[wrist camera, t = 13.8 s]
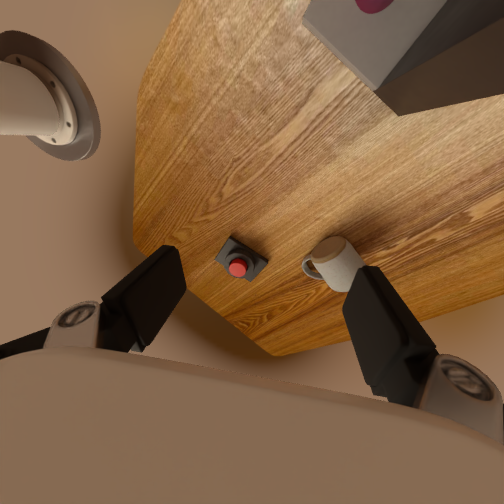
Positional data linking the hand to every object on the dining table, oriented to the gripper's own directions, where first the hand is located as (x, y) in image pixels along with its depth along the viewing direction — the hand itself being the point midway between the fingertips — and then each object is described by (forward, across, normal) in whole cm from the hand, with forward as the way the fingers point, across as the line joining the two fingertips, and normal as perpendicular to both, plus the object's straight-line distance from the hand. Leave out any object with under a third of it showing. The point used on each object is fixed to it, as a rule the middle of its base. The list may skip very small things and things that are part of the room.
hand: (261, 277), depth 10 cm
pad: (+26, +7, +17) cm, 32 cm away
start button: (+24, +7, +17) cm, 30 cm away
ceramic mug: (+26, -12, +14) cm, 32 cm away
